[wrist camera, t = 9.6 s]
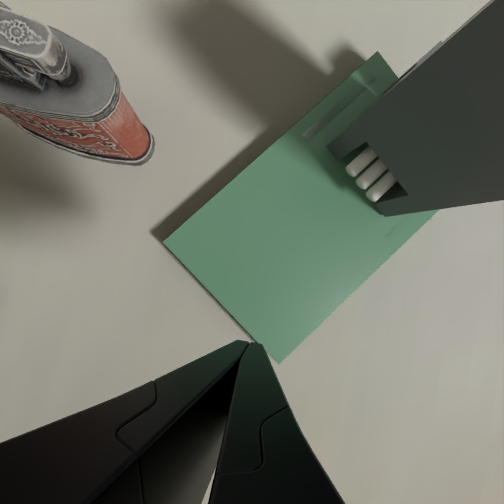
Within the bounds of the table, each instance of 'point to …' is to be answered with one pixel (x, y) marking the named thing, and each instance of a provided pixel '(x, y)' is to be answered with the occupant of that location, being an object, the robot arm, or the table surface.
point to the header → (378, 166)
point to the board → (296, 225)
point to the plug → (442, 123)
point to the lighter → (67, 93)
